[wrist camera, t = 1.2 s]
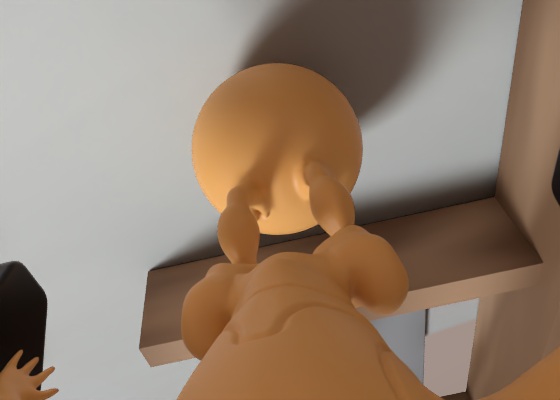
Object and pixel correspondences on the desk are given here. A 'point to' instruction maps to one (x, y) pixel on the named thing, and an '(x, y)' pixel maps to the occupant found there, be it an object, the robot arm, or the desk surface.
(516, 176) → the notched stand
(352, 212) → the figurine
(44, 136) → the desk surface
